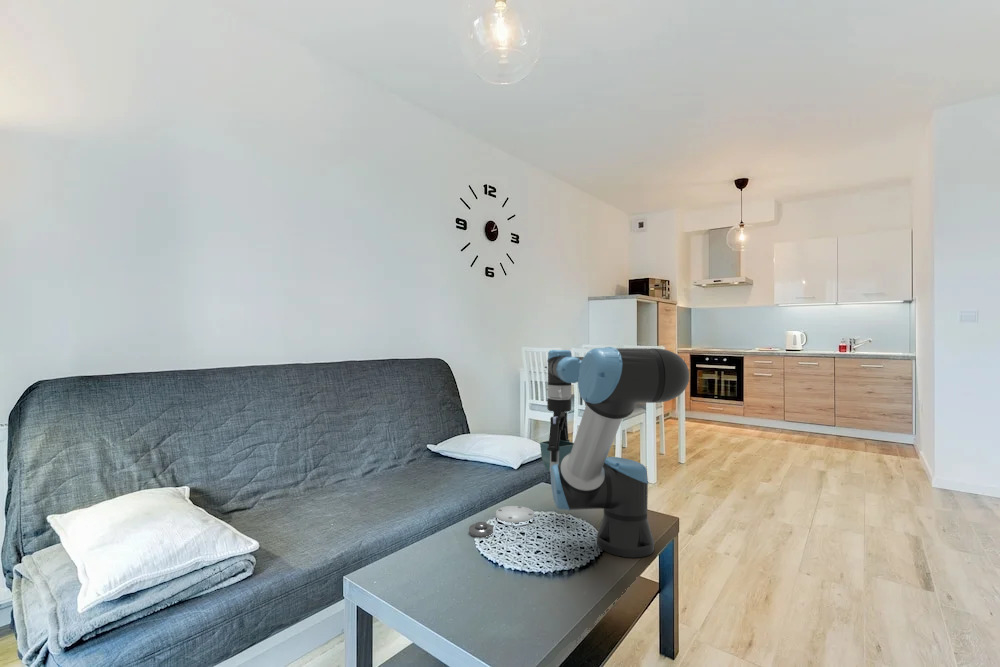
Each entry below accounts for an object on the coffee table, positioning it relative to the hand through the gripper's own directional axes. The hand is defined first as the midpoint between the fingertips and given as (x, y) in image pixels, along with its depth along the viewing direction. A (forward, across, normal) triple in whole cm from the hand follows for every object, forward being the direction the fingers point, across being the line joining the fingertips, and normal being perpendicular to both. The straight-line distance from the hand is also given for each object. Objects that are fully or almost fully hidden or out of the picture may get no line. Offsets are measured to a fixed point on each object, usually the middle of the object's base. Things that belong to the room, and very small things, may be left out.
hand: (558, 467), depth 145 cm
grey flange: (+16, +5, -13) cm, 21 cm away
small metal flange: (+16, +19, -18) cm, 31 cm away
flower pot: (+1, 0, 0) cm, 1 cm away
